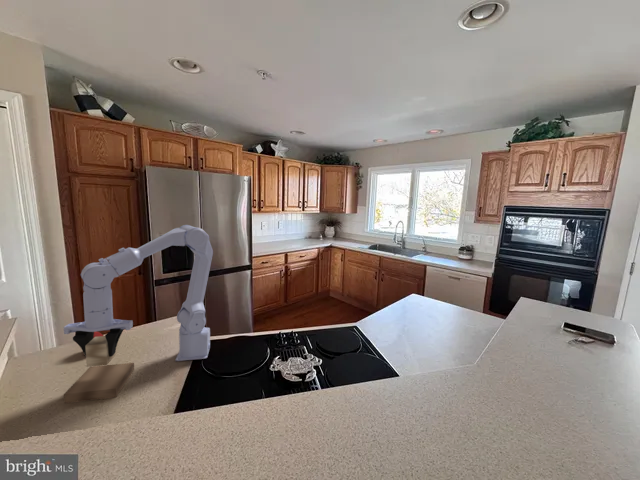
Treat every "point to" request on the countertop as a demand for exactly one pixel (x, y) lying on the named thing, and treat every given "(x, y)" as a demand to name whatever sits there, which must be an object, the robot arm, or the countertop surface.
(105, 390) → the walnut block
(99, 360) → the beech block
